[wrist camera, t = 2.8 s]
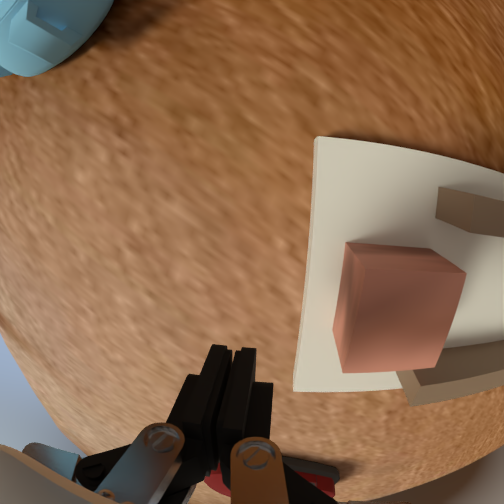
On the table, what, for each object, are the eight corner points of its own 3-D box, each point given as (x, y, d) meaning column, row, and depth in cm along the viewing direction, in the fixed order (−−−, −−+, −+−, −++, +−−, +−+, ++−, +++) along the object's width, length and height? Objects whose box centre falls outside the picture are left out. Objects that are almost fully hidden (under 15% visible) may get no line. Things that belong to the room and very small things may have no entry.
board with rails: (314, 139, 16) (329, 125, 11) (573, 205, 13) (607, 217, 7) (293, 375, 22) (292, 430, 16) (534, 348, 18) (557, 374, 13)
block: (345, 242, 16) (365, 268, 12) (430, 248, 15) (466, 273, 11) (332, 329, 18) (342, 373, 13) (410, 329, 17) (434, 367, 13)
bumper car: (217, 436, 26) (197, 510, 16) (367, 463, 26) (376, 525, 16) (199, 467, 29) (182, 525, 19) (329, 491, 29) (330, 543, 19)
